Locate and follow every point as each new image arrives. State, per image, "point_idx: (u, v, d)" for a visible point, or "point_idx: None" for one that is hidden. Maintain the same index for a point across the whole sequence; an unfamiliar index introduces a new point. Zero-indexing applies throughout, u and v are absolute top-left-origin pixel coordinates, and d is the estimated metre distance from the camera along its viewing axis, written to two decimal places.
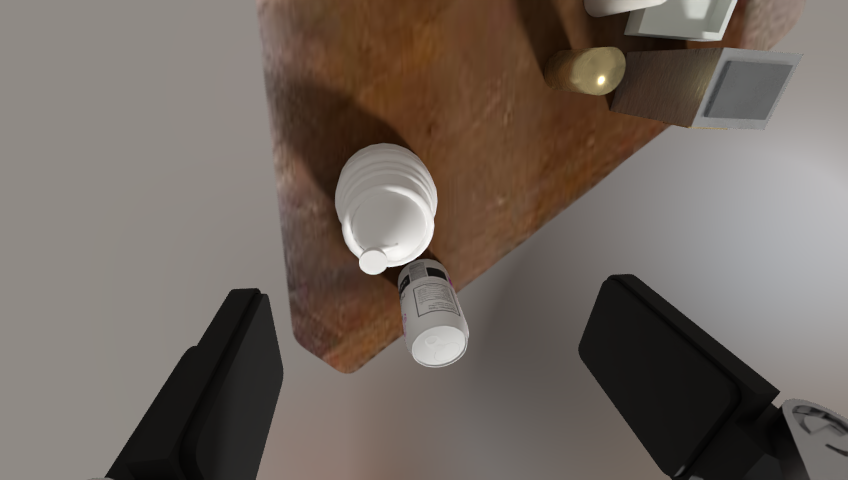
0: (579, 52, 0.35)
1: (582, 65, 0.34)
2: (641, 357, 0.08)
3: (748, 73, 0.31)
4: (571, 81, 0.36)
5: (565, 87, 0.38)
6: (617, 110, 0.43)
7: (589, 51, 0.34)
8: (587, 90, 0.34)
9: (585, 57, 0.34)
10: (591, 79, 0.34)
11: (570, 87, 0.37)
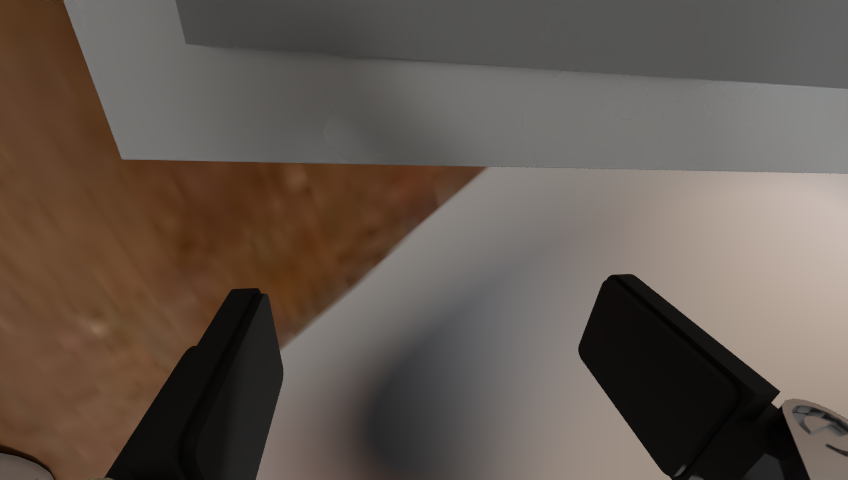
0: None
1: None
2: (641, 357, 0.08)
3: None
4: None
5: None
6: None
7: None
8: None
9: None
10: None
11: None
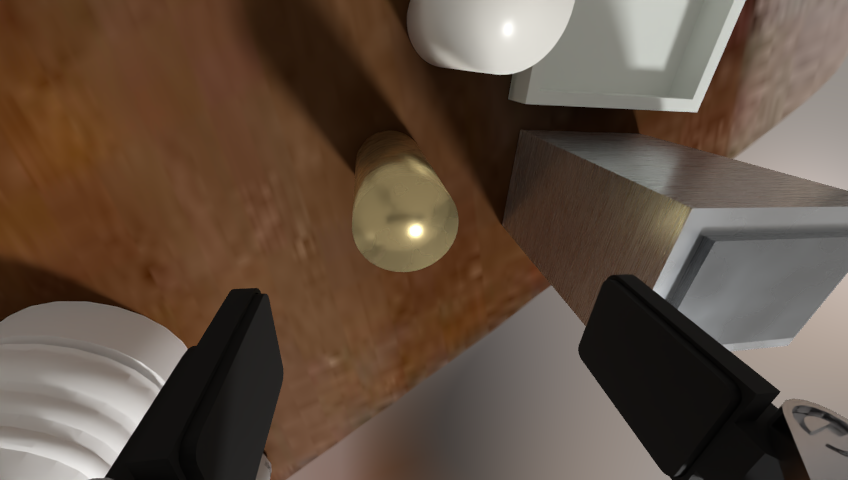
0: (370, 163, 0.15)
1: (353, 208, 0.14)
2: (641, 357, 0.08)
3: (760, 263, 0.11)
4: None
5: None
6: (509, 231, 0.23)
7: (373, 173, 0.14)
8: None
9: (359, 192, 0.14)
10: (375, 244, 0.14)
11: None
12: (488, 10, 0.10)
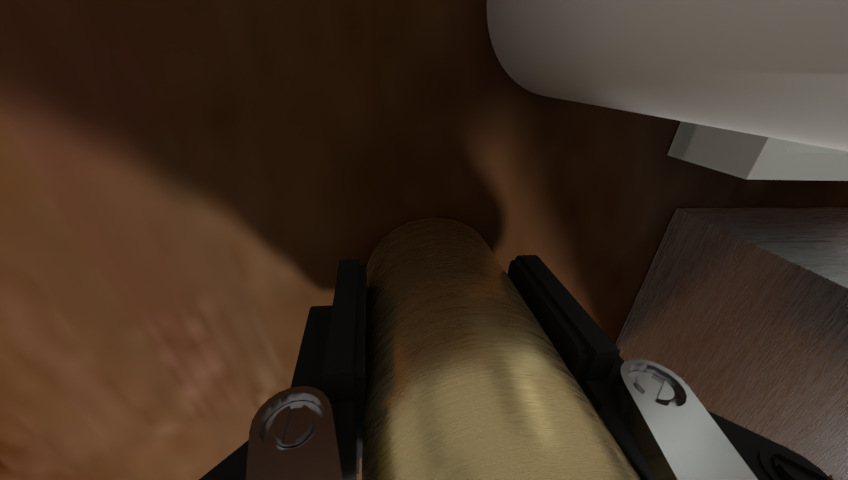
0: (412, 387, 0.05)
1: None
2: None
3: None
4: None
5: None
6: None
7: None
8: None
9: None
10: None
11: None
12: None
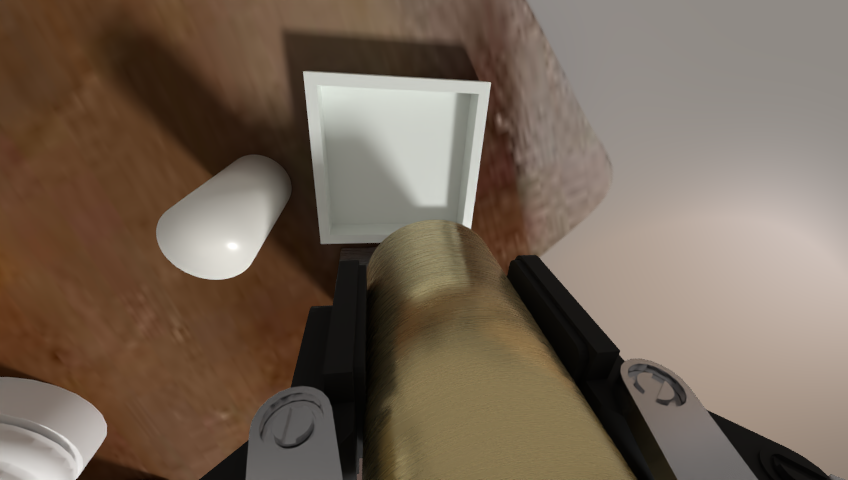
0: (412, 390, 0.05)
1: None
2: None
3: None
4: None
5: None
6: None
7: None
8: None
9: None
10: None
11: None
12: (195, 250, 0.16)
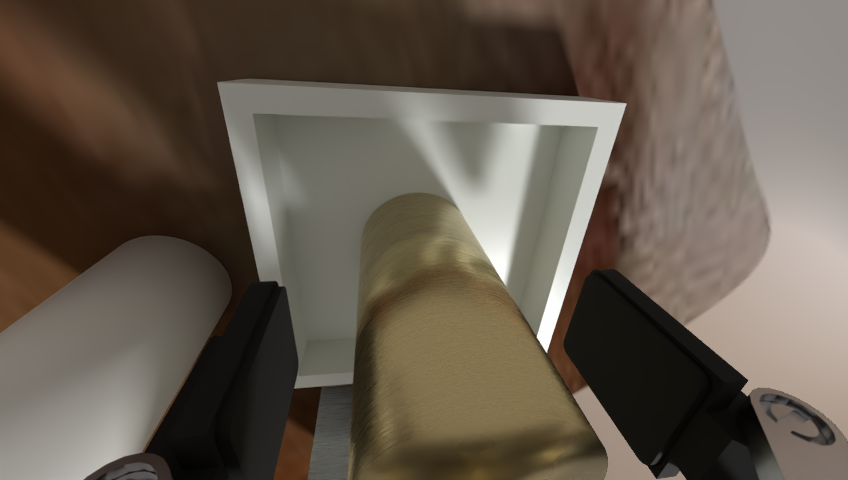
0: (389, 298, 0.07)
1: (350, 444, 0.06)
2: (620, 349, 0.08)
3: None
4: None
5: None
6: None
7: (396, 356, 0.06)
8: None
9: (364, 408, 0.06)
10: None
11: None
12: None
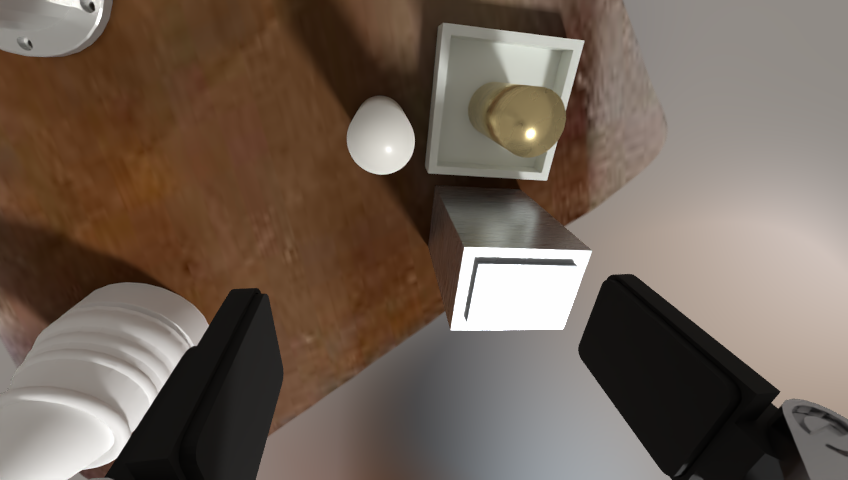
0: (501, 90, 0.23)
1: (498, 112, 0.22)
2: (641, 357, 0.08)
3: (511, 277, 0.22)
4: (490, 133, 0.24)
5: (489, 137, 0.26)
6: (430, 251, 0.34)
7: (511, 91, 0.22)
8: (508, 150, 0.22)
9: (503, 101, 0.21)
10: (512, 134, 0.22)
11: (492, 139, 0.25)
12: (371, 147, 0.21)
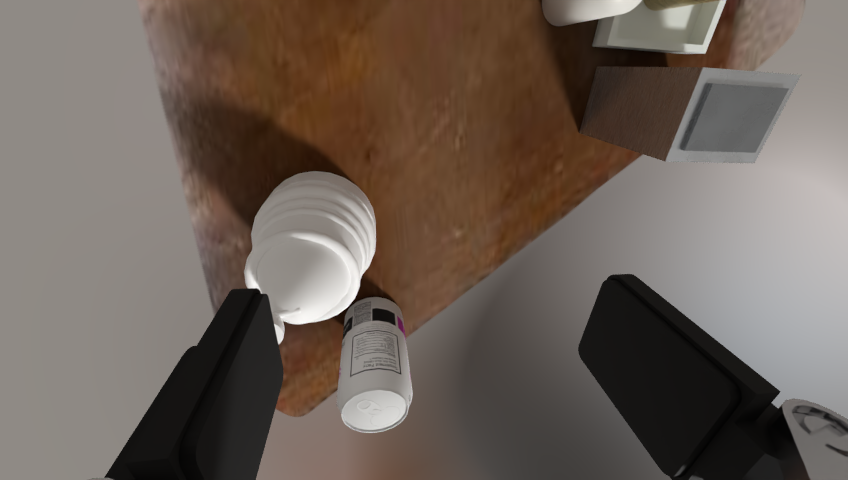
0: None
1: None
2: (641, 357, 0.08)
3: (734, 99, 0.25)
4: None
5: None
6: (586, 133, 0.37)
7: None
8: None
9: None
10: None
11: None
12: None
